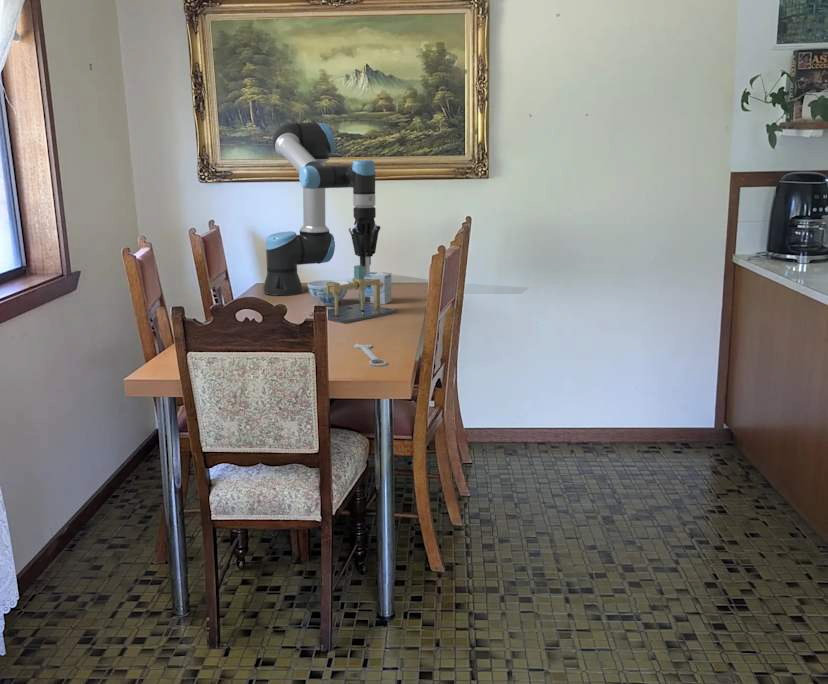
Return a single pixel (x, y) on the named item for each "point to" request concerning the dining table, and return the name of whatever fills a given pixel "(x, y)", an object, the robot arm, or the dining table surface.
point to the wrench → (370, 355)
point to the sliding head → (360, 281)
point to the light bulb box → (384, 288)
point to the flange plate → (357, 313)
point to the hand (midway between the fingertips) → (365, 275)
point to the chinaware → (325, 292)
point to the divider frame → (336, 288)
